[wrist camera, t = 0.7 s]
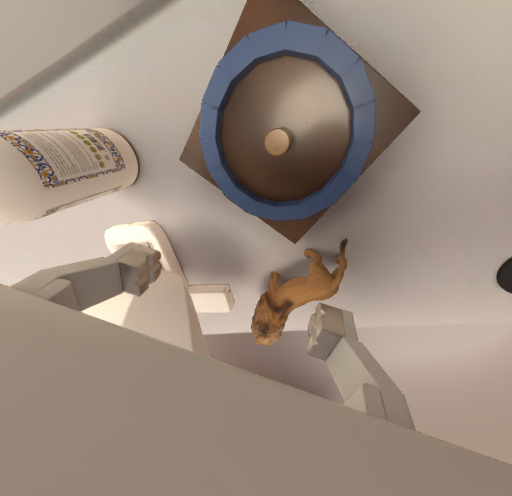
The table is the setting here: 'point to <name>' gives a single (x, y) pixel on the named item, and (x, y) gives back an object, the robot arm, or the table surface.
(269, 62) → the platform
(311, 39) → the ring
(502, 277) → the mat
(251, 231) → the table surface
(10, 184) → the bath foam
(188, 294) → the jewelry stand
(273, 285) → the lion figurine
